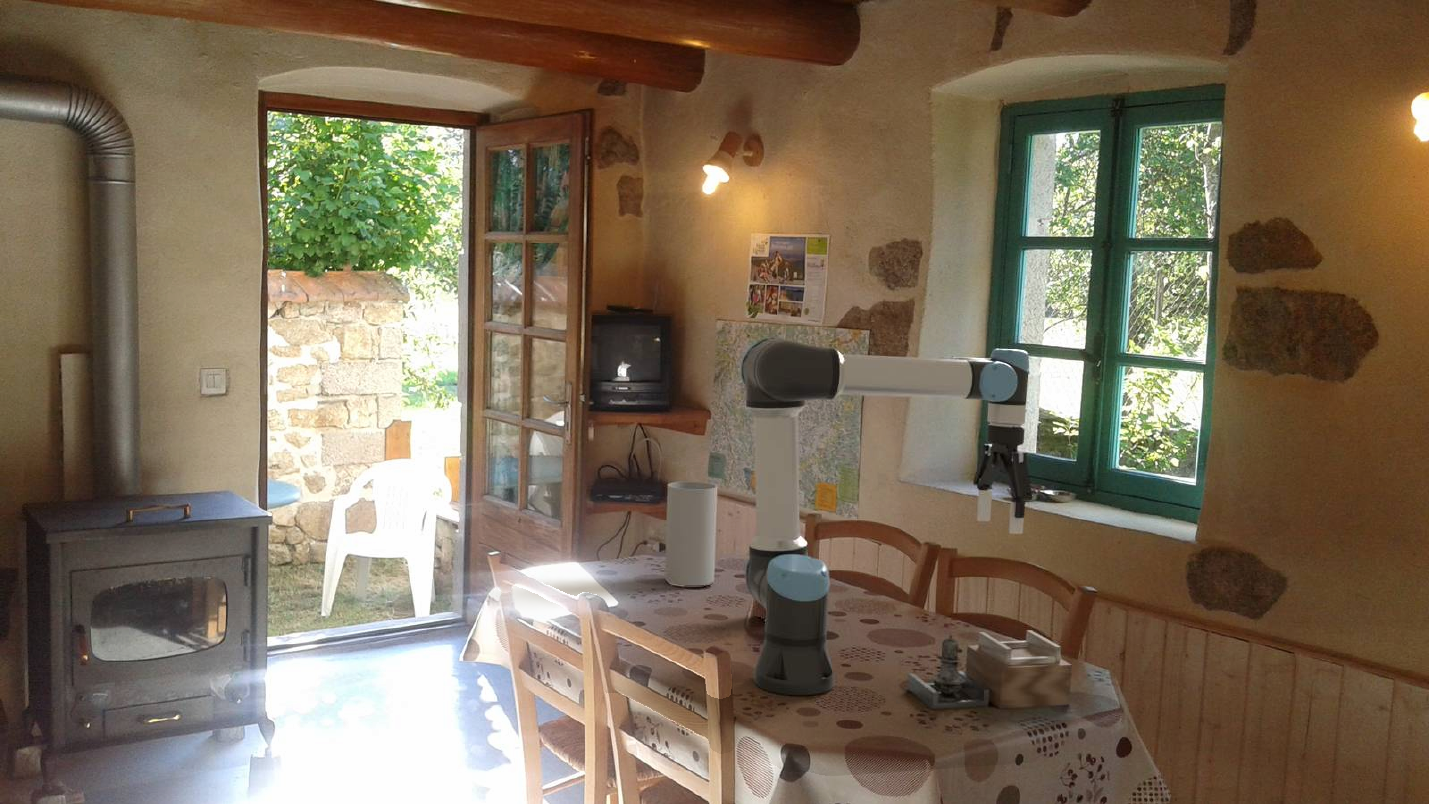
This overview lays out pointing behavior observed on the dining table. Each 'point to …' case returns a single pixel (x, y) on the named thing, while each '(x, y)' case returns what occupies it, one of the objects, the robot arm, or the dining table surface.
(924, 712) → the dining table surface
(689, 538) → the cylinder vase
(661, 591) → the dining table surface
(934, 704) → the low socket
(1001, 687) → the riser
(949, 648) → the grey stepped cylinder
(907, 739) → the dining table surface
